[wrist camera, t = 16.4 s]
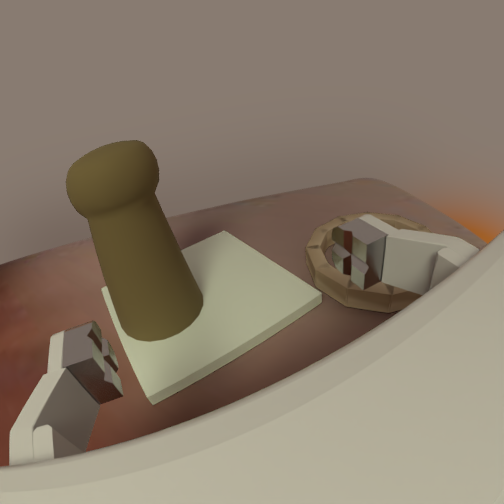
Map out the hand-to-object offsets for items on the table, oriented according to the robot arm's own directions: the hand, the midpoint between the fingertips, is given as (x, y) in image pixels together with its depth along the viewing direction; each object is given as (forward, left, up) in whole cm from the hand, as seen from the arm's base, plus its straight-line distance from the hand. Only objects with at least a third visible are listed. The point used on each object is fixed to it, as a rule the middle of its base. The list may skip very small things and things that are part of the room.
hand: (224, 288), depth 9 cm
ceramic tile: (+2, +10, -8) cm, 12 cm away
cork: (-1, +10, -7) cm, 12 cm away
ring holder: (+14, +4, -8) cm, 16 cm away
